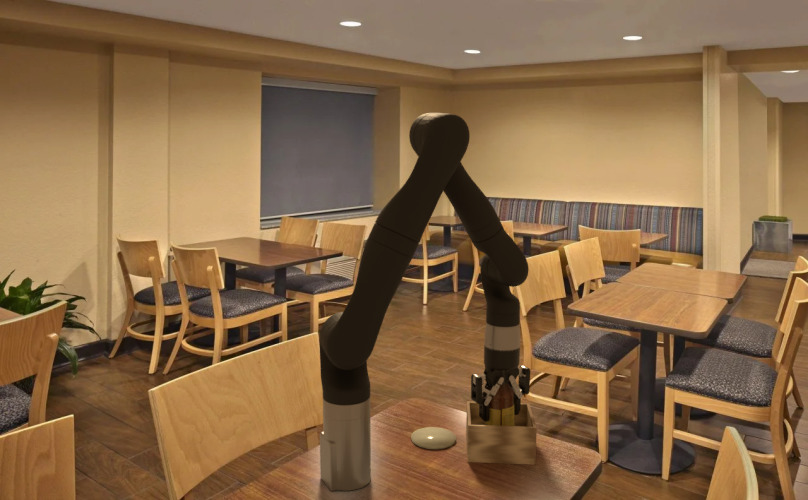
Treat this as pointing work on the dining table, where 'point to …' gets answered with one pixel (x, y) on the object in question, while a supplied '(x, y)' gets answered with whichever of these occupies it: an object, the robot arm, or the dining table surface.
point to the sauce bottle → (502, 403)
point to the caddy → (501, 438)
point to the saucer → (433, 438)
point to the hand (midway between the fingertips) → (499, 416)
